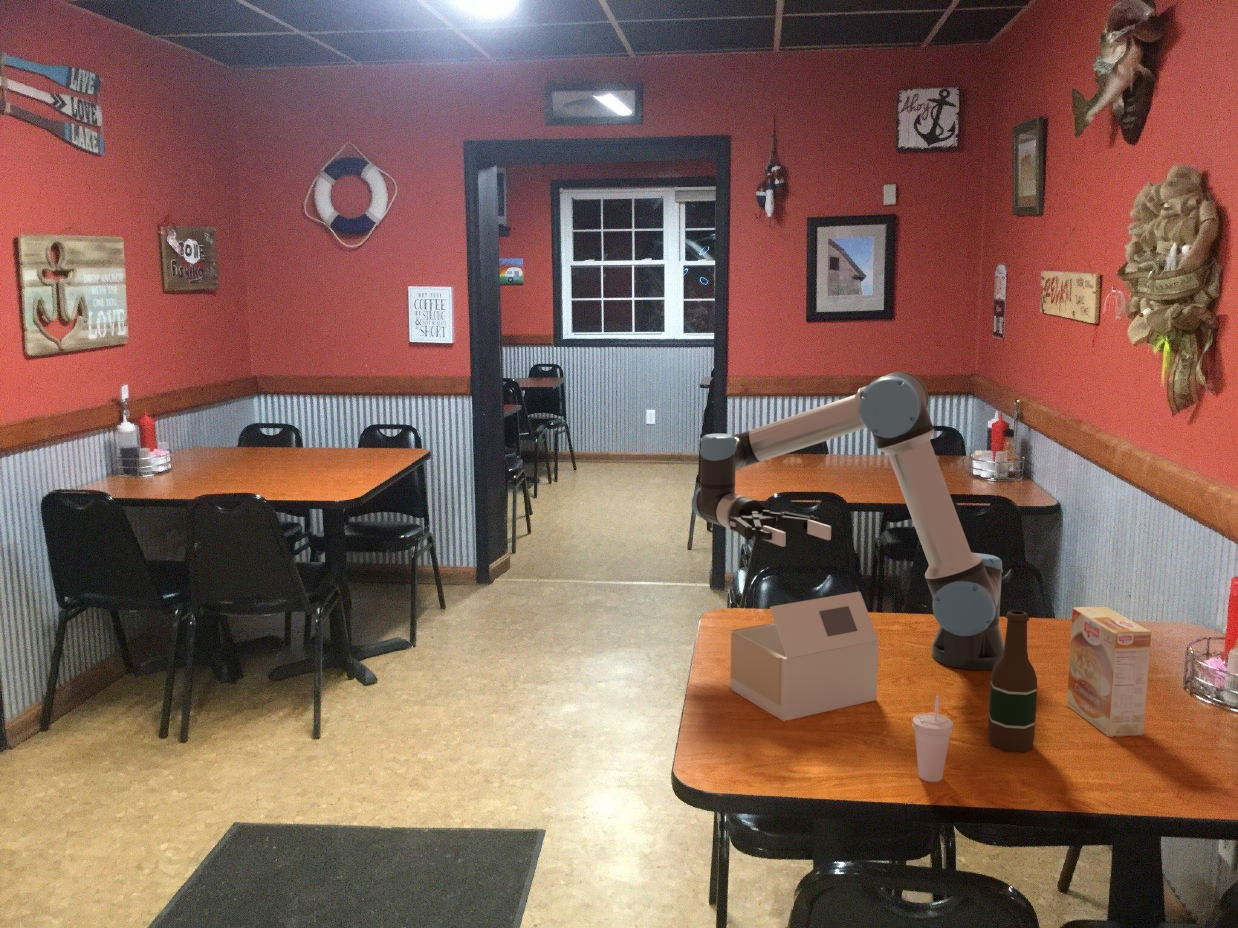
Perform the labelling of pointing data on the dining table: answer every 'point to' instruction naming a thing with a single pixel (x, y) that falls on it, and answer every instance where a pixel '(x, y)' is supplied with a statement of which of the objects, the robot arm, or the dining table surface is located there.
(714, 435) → the robot arm
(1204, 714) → the dining table surface
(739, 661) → the carton
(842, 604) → the far flap
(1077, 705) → the coffeecake box
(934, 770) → the smoothie
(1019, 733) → the beer bottle
